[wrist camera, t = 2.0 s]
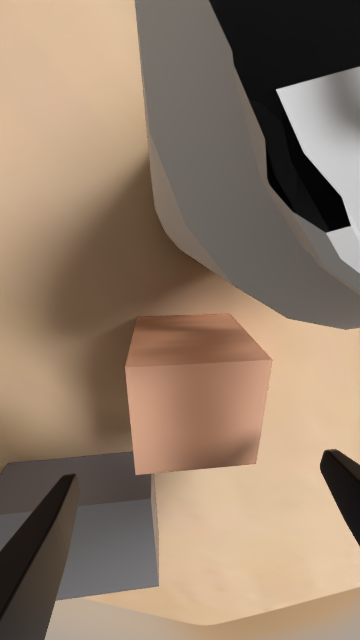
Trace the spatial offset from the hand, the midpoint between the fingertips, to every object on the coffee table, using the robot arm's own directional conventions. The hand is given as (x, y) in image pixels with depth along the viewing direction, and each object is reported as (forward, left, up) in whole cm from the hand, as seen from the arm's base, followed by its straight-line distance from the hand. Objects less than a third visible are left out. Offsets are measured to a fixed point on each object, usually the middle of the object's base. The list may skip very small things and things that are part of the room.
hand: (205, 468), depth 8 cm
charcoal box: (-8, -14, -9) cm, 18 cm away
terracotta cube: (0, 0, -8) cm, 8 cm away
